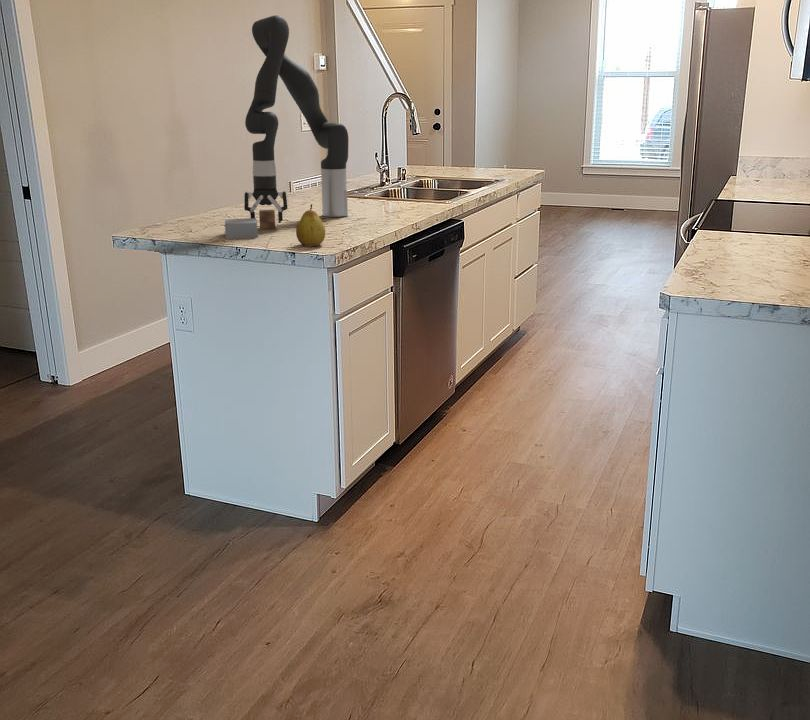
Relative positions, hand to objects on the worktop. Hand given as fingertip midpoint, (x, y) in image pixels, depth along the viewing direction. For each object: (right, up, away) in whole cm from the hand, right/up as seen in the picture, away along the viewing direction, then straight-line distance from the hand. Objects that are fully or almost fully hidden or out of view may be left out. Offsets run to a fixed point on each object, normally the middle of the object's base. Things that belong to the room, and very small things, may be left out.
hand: (266, 223), depth 284 cm
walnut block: (0, -2, +1) cm, 2 cm away
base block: (-6, -6, -12) cm, 15 cm away
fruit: (+18, -12, -30) cm, 37 cm away
